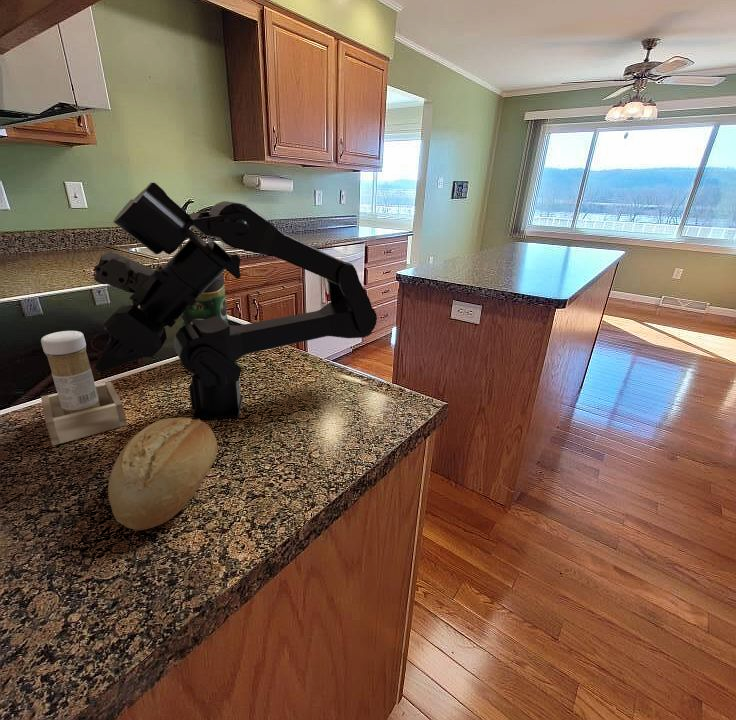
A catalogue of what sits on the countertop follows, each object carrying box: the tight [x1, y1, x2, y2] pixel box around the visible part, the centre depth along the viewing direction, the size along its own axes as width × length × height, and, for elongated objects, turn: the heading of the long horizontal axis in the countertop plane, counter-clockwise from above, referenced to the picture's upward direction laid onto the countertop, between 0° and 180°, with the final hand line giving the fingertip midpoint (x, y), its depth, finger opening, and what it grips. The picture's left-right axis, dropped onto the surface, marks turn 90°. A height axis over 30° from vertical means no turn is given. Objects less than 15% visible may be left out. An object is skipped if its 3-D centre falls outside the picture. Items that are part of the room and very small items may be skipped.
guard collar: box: [40, 381, 128, 446], centre depth 57 cm, size 9×9×4 cm
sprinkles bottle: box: [40, 330, 100, 415], centre depth 54 cm, size 5×5×13 cm
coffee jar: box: [180, 272, 229, 327], centre depth 76 cm, size 10×8×19 cm
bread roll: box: [107, 417, 218, 532], centre depth 44 cm, size 10×15×8 cm, turn 1°
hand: (109, 356), depth 55 cm, fingers open, 9 cm apart
